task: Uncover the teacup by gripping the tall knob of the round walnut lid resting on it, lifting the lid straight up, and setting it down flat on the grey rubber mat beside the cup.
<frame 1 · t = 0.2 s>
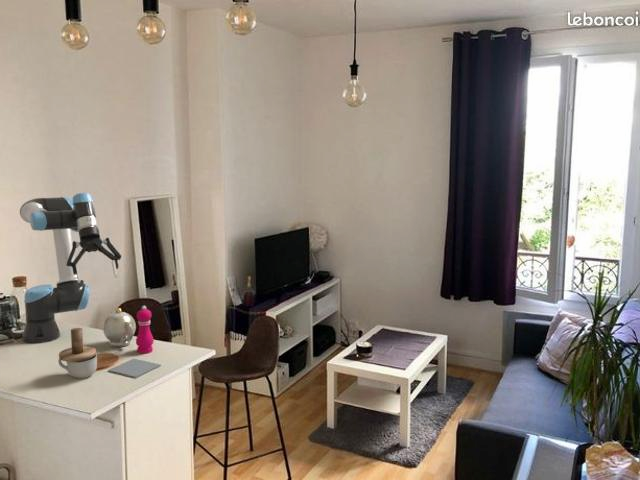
hand: (98, 279, 227), 35 cm above the table, tool tilted 35°, fingers open, 13 cm apart
teapot: (121, 345, 257), on the table
mat: (134, 368, 231), on the table
teacup: (78, 375, 223), on the table, touching lid
lid: (77, 355, 222), point 8 cm above the table, touching teacup
pepper mill: (145, 351, 250), on the table
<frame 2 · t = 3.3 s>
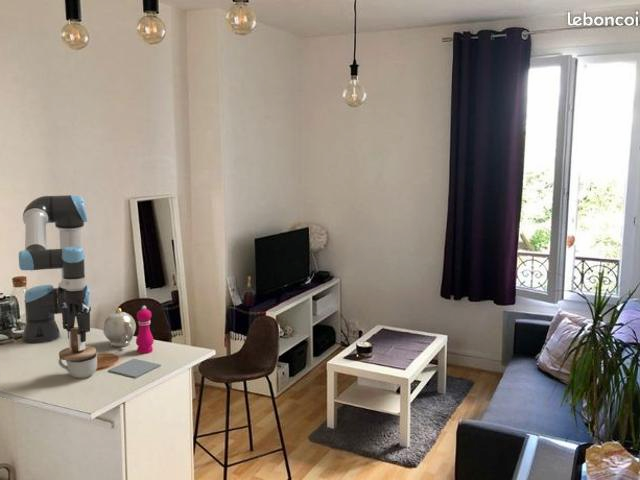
hand: (77, 348, 222), 11 cm above the table, tool pointing down, fingers closed on lid, 4 cm apart
teacup: (78, 375, 223), on the table
lid: (77, 354, 222), point 8 cm above the table, touching gripper
everything else where it was.
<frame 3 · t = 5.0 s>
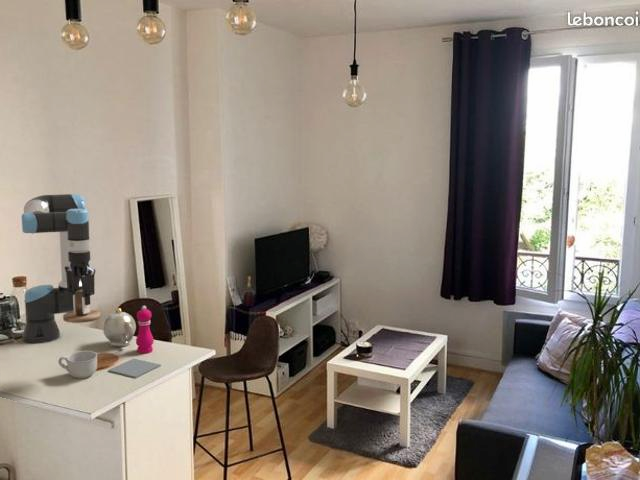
hand: (81, 311, 220), 25 cm above the table, tool pointing down, fingers closed on lid, 4 cm apart
lid: (82, 317, 220), point 23 cm above the table, touching gripper
everything else where it was.
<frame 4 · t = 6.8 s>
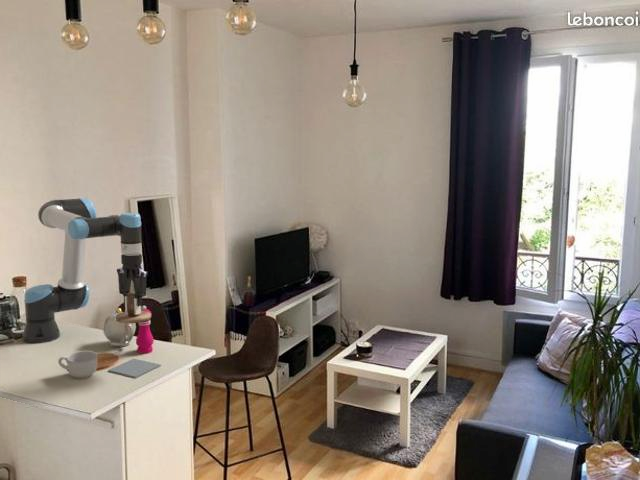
hand: (133, 312, 227), 23 cm above the table, tool pointing down, fingers closed on lid, 4 cm apart
lid: (133, 318, 228), point 21 cm above the table, touching gripper
everything else where it was.
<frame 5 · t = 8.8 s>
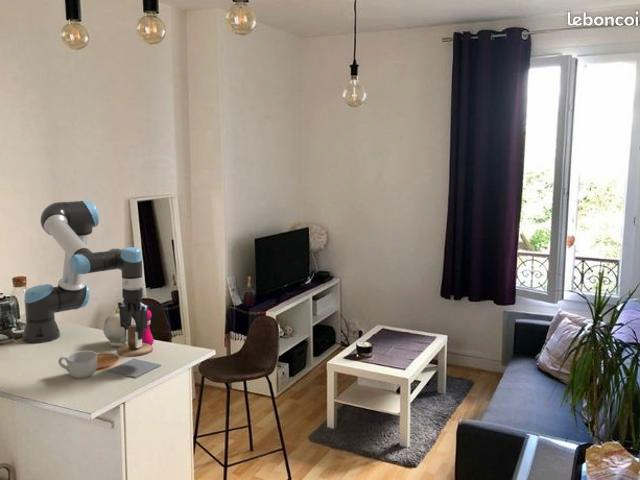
hand: (134, 345, 229), 9 cm above the table, tool pointing down, fingers closed on lid, 4 cm apart
lid: (134, 351, 230), point 7 cm above the table, touching gripper
everything else where it was.
when the fingers open (5 cm above the table, at t = 10.5 s): lid drops 2 cm, resting on mat.
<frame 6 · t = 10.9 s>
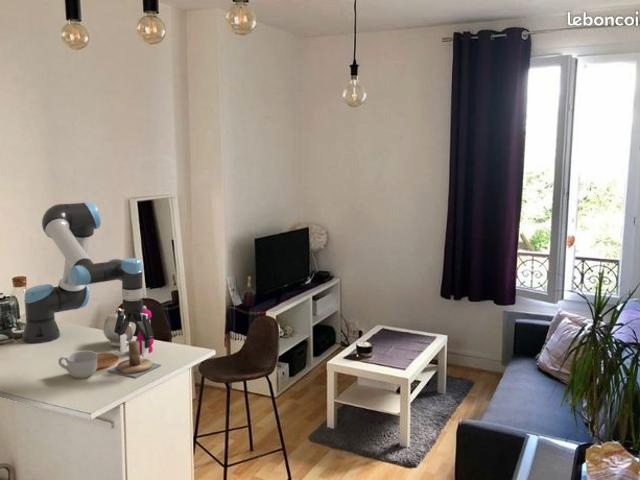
hand: (134, 353, 230), 6 cm above the table, tool pointing down, fingers open, 10 cm apart
lid: (134, 367, 231), point 1 cm above the table, touching mat
everything else where it was.
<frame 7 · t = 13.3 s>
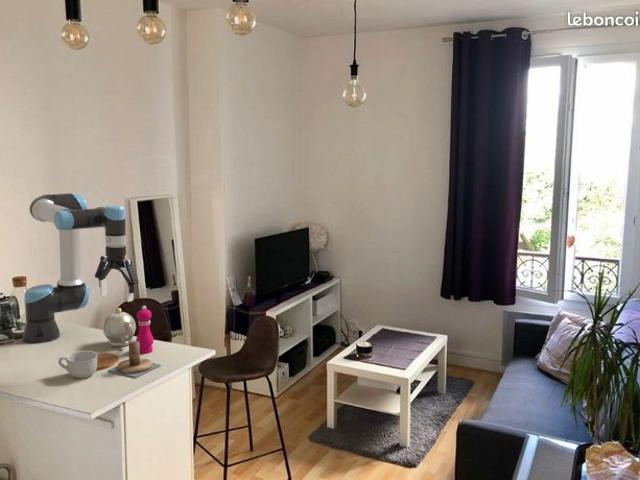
hand: (116, 298, 232), 27 cm above the table, tool pointing down, fingers open, 13 cm apart
nothing on the table moved.
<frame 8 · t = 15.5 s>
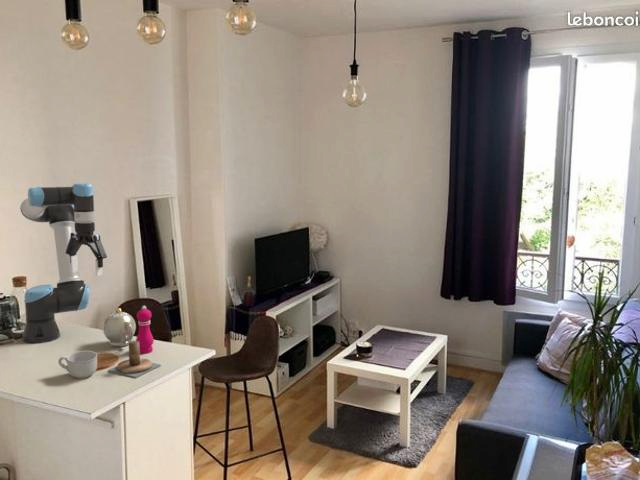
hand: (86, 273, 239), 35 cm above the table, tool pointing down, fingers open, 13 cm apart
nothing on the table moved.
at the end: lid inside the target area on the mat (0.0 cm from its centre), point 0.6 cm above the mat's base; lid tilted 0°; teacup moved 0.3 cm from its start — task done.
